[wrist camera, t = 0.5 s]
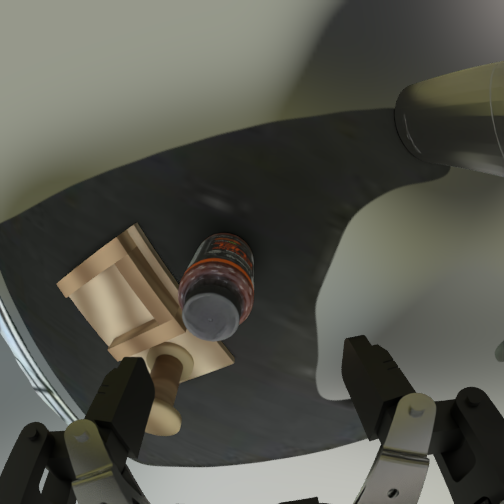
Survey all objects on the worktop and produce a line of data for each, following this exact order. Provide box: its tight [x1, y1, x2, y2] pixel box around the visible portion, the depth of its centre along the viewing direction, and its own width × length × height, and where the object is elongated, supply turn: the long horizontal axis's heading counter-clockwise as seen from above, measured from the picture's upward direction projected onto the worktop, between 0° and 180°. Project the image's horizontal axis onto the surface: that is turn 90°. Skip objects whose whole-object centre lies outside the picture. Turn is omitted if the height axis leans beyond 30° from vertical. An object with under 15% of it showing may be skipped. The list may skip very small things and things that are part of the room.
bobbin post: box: [145, 342, 194, 436], centre depth 28 cm, size 6×6×10 cm
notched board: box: [57, 223, 235, 383], centre depth 30 cm, size 14×20×4 cm
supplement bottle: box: [178, 233, 254, 342], centre depth 24 cm, size 6×6×11 cm
